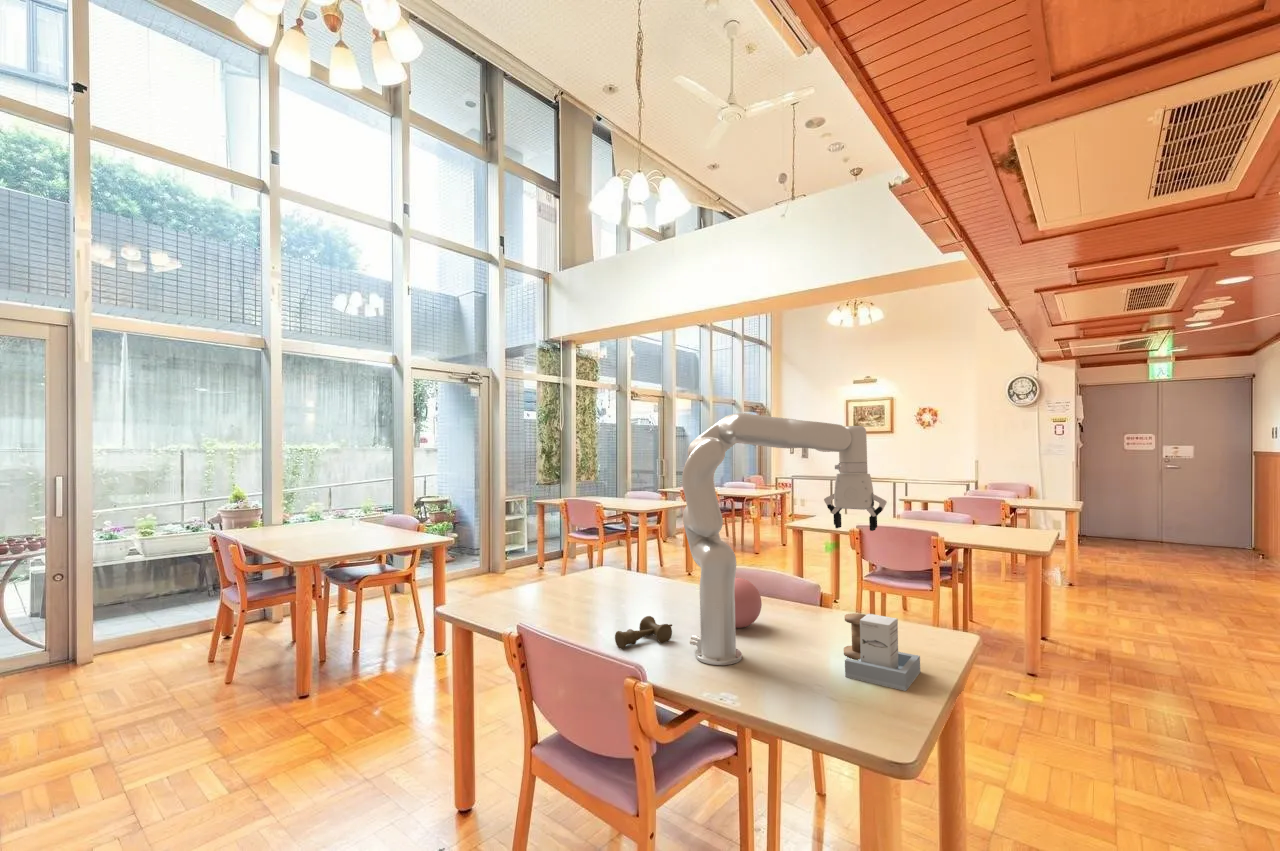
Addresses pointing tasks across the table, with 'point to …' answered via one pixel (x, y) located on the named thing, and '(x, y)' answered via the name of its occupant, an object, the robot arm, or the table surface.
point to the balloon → (746, 603)
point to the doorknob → (854, 636)
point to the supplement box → (879, 640)
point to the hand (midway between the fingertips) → (855, 528)
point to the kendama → (644, 632)
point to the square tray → (886, 671)
